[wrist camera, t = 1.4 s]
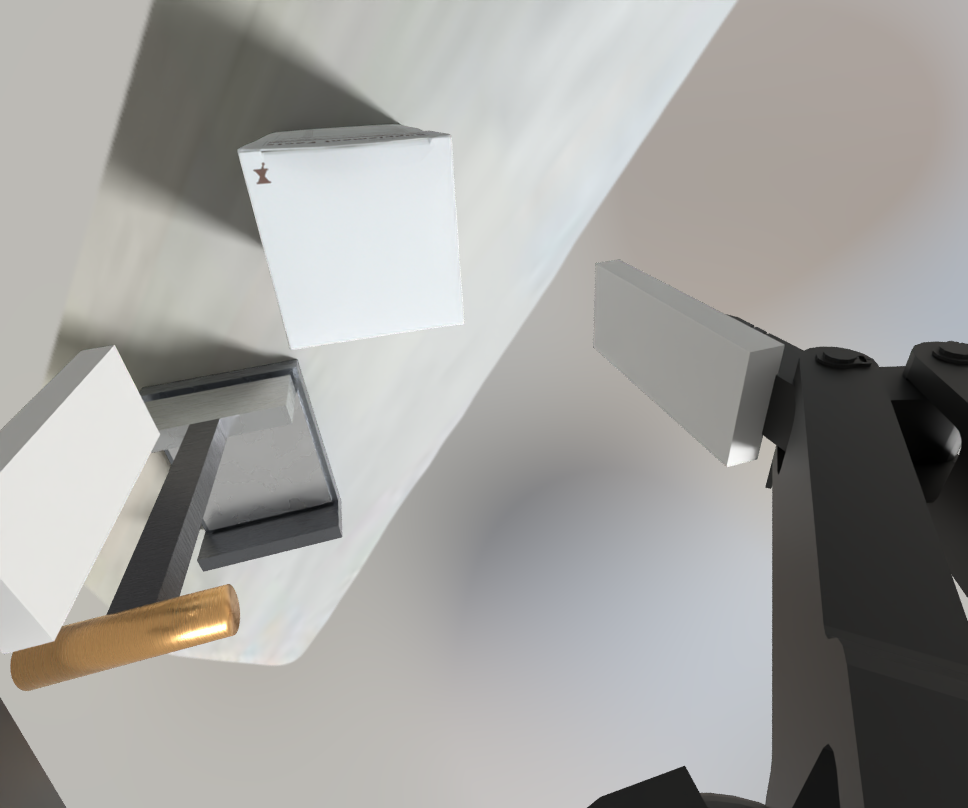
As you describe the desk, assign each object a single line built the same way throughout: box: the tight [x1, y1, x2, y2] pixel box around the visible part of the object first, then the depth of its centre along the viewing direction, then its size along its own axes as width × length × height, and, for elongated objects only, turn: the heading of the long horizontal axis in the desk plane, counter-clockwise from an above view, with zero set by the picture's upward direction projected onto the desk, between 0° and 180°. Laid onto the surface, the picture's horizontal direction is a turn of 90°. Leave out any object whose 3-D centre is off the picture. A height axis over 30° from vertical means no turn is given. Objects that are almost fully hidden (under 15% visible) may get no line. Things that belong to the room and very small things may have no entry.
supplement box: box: [237, 124, 465, 350], centre depth 31 cm, size 10×9×17 cm
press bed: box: [139, 360, 342, 572], centre depth 44 cm, size 12×16×5 cm
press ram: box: [11, 375, 296, 691], centre depth 31 cm, size 11×2×23 cm, turn 95°
